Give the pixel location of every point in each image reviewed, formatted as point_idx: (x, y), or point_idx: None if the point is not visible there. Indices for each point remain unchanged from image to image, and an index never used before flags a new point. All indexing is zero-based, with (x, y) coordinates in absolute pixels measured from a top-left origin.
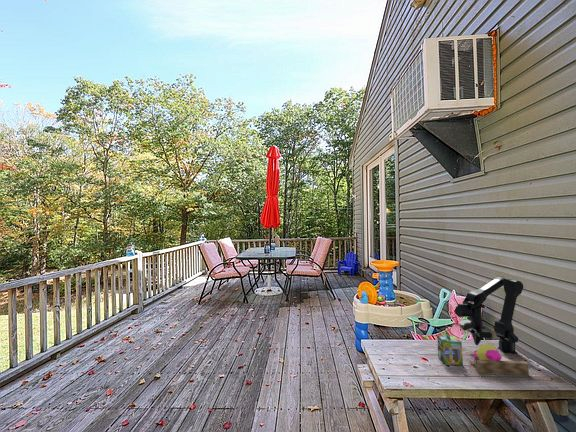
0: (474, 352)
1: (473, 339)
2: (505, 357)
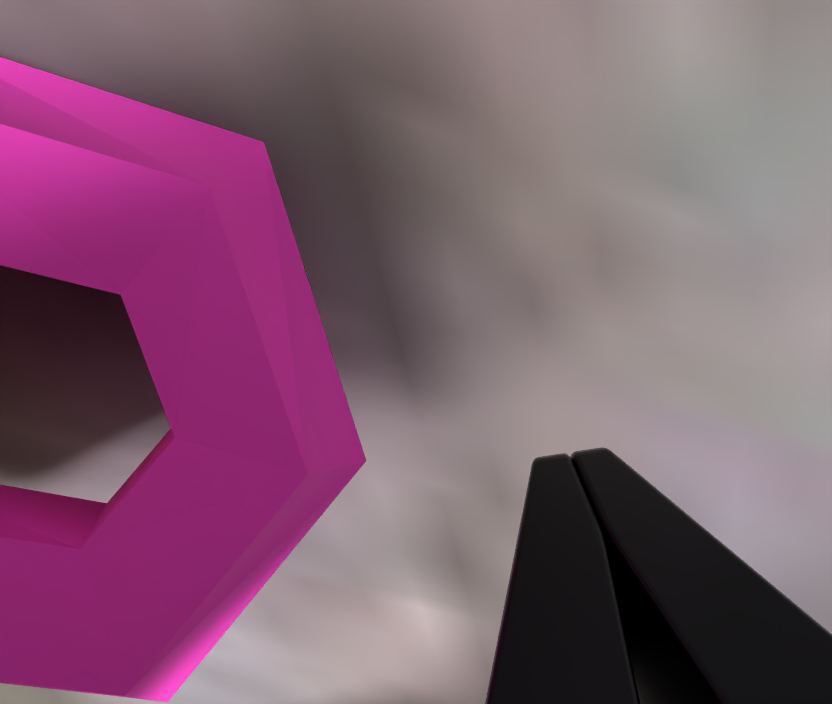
0: (57, 166)
1: (776, 604)
2: (393, 701)
